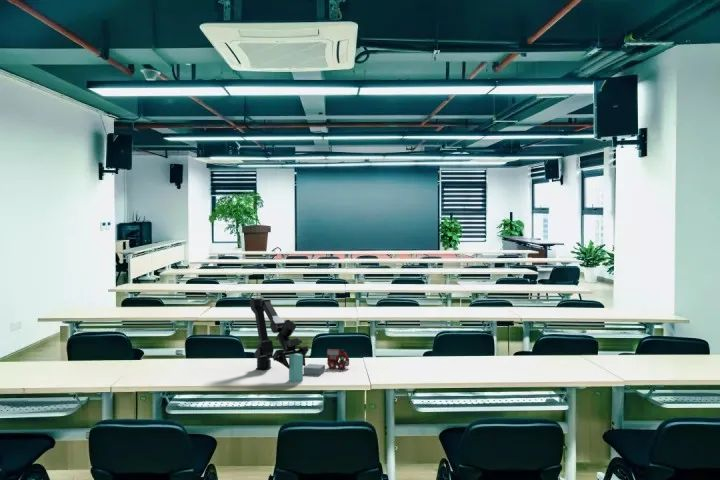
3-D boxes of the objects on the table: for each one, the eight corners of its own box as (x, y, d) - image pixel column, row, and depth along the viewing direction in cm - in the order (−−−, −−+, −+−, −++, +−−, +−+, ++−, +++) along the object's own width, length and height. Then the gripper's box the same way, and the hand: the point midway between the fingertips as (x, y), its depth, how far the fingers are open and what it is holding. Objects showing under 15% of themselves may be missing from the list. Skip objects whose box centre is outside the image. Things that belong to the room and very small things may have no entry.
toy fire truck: (348, 370, 339) (348, 350, 339) (325, 369, 341) (325, 350, 340) (349, 367, 346) (350, 348, 346) (327, 366, 347) (327, 347, 347)
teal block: (288, 380, 315) (289, 354, 315) (297, 378, 318) (297, 353, 318) (294, 382, 311) (294, 356, 311) (302, 380, 314) (302, 354, 314)
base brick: (303, 375, 328) (303, 367, 328) (308, 371, 337) (308, 363, 337) (319, 376, 326) (319, 368, 326) (324, 372, 334) (325, 364, 334)
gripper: (275, 334, 312) (287, 359, 303) (306, 330, 324) (318, 355, 315) (267, 347, 318) (278, 373, 310) (298, 343, 330) (310, 368, 321)
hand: (297, 366), depth 314 cm, fingers open, 9 cm apart
